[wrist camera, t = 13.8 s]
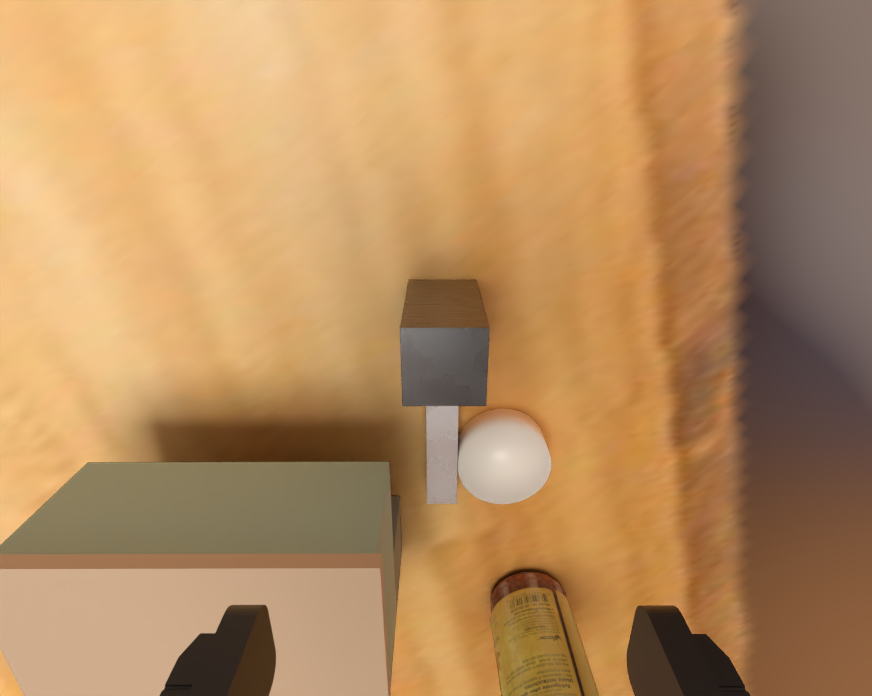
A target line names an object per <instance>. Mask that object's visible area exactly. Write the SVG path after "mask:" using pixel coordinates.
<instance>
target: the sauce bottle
mask: <svg viewBox="0 0 872 696" xmlns="http://www.w3.org/2000/svg"><path fill="white" fill-rule="evenodd" d="M491 627H492V634H493V641H494V648H495V655H496V662H497V668H498V674H499V682H500V689H501V696H599V694H598V691H597V688H596V685H595V681H594V678H593V675H592V672H591V669H590V666H589V662H588V659H587V656H586V653H585V650H584V647H583V643H582V640H581V637H580V634H579V631H578V628H577V625H576V622H575V618H574V615H573V612H572V609H571V606H570V604H569V601H568V600H567V598H566V593H565V591H564V590H563V588H562V587H561V586H560V584H559V583H558V582H556V581H555V580H554V579H553V578H551V577H550V576H548V575H546V574H543V573H538V572H520V573H517V574H514V575H512V576H508V577H506V578H505V579H504V580H503V581H501V582H499V584H498V585H497V586H496V587H495V589H494V591H493V592H492V595H491Z"/></svg>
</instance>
